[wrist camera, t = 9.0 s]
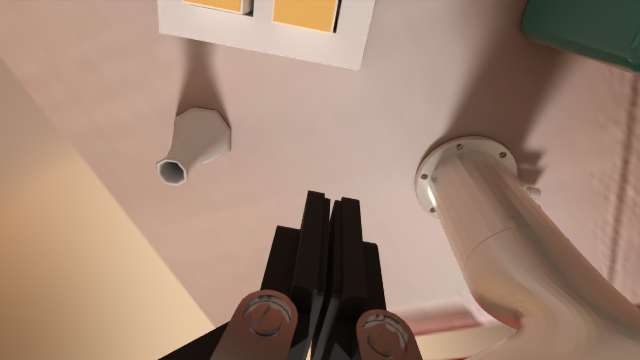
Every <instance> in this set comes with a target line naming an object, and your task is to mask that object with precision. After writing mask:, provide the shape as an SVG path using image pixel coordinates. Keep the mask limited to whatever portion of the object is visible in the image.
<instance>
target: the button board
mask: <svg viewBox="0 0 640 360" xmlns="http://www.w3.org/2000/svg"><path fill="white" fill-rule="evenodd" d="M157 2H158V18H159V33H164V34H169V35H174V36H179V37H185V38H190V39H195V40H200V41H206V42H211V43H216V44H222V45H227V46H232V47H237V48H243V49H248V50H253V51H258V52H264V53H269V54H274V55H279V56H285V57H290V58H295V59H301V60H306V61H311V62H316V63H322V64H327V65H332V66H337V67H343V68H348V69H353V70H358V71H359V70H360V66H361V61H362V57H363V52H364V48H365V44H366V39H367V35H368V31H369V26H370V22H371V18H372V13H373V9H374V4H375V0H338V5H337V11H336V16H335V22H334V27H333V33H332V35H330V34H325V33H320V32H315V31H310V30H305V29H300V28H295V27H289V26H284V25H279V24H274V23H271V17H272V6H273V0H254V10H252V11H250V12H247V13H245V14H237V13H232V12H227V11H222V10H217V9H212V8H207V7H201V6H196V5H191V4H186V3H182V0H157Z"/></svg>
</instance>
